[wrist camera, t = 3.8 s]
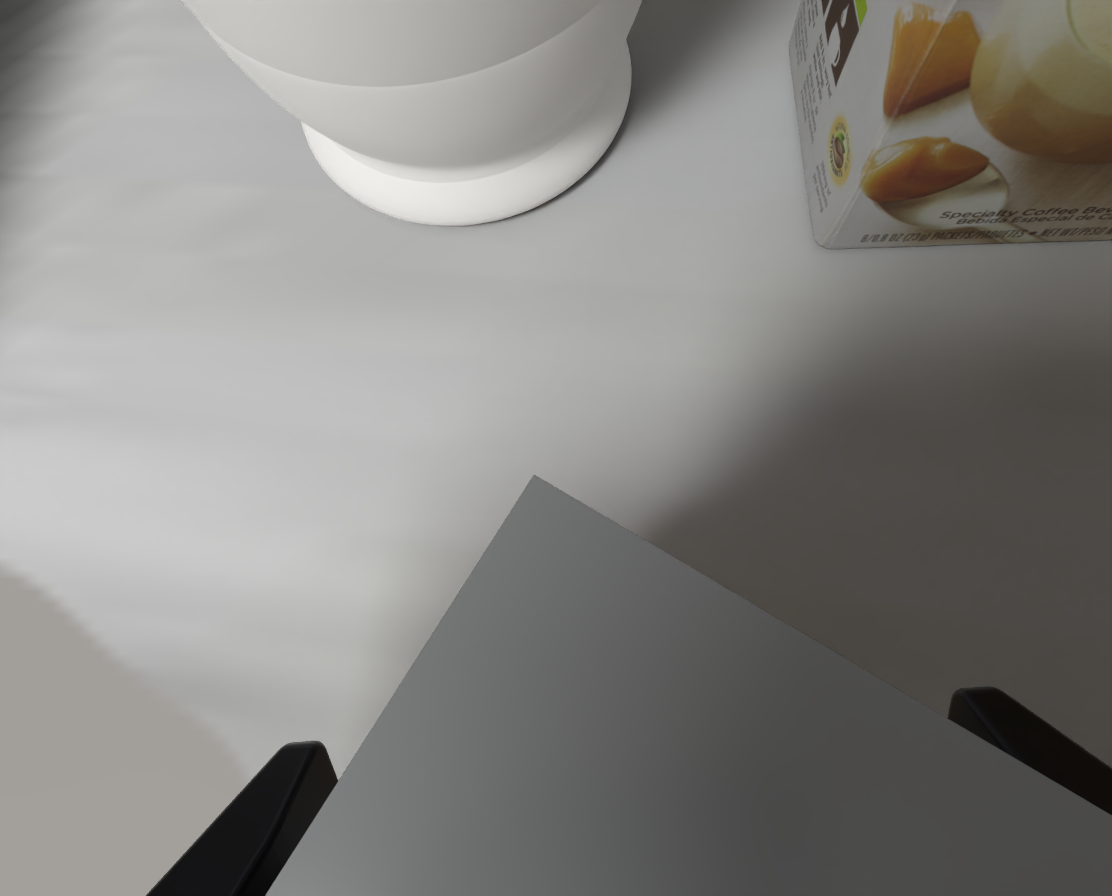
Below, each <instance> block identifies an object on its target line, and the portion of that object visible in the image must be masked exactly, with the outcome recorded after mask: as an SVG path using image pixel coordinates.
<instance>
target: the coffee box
mask: <svg viewBox="0 0 1112 896" xmlns="http://www.w3.org/2000/svg"><path fill="white" fill-rule="evenodd" d="M789 54H790V63H791V71H792V80H793V88H794V96H795V103H796V111H797V119H798V127H799V135H800V143H801V152H802V160H803V167H804V174H805V181H806V188H807V195H808V203H809V209H810V216H811V222H812V228H813V235H814V238H815V241H816V242H817V243H818V244H819V245H820V246H822V247H824V248H827V249H846V248H873V247H899V246H931V245H955V244H993V243H1029V242H1056V241H1091V240H1112V0H802V1H801V4H800V8H799V11H798V14H797V18H796V21H795V25H794V28H793V31H792V35H791V38H790V42H789Z"/></svg>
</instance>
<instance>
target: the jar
mask: <svg viewBox="0 0 1112 896" xmlns="http://www.w3.org/2000/svg"><path fill="white" fill-rule="evenodd" d="M180 1H181V2H182V3H183V4H184V5H185V6H186V7H187V8H188V9H189V10H190V11H191V12H192V13H193V14H194V15H195V16H196V17H197V19H198V20H199V21H200V23H201V24H202V25H203V26H204V28H205V29H206V30H207V31H208V32H209V34H210V35H211V36H212V37H213V38H214V40H215V41H216V42H217V43H218V44H219V46H220V47H221V48H222V49H223V50H224V51H225V52H226V53H227V55H228V56H229V57H230V58H231V59H232V60H233V61H234V62H235V63H236V64H237V65H238V66H239V68H240V69H241V70H242V71H243V72H244V73H245V74H246V75H247V76H248V77H249V78H250V79H251V80H252V81H253V82H254V83H255V84H256V85H258V86H259V87H260V88H261V89H262V90H263V91H264V92H265V93H266V94H267V95H268V96H270V97H271V98H272V99H273V100H274V101H275V102H277V103H278V104H279V105H280V106H282V107H283V108H284V109H285V110H287V111H288V112H289V113H291V114H292V115H293V116H295V117H296V118H298V119H299V120H300V121H301V123H302V127H303V130H304V134H305V137H306V139H307V142H308V144H309V146H310V149H311V151H312V152H313V154H314V156H315V158H316V159H317V161H318V163H319V164H320V165H321V167H322V168H323V170H324V171H325V172H326V173H327V174H328V176H329V177H330V178H331V179H332V180H333V181H334V182H335V183H336V184H337V185H338V186H339V187H340V188H342V189H343V190H344V191H345V192H346V193H348V194H349V195H350V196H352V197H353V198H355V199H356V200H358V201H360V202H361V203H363V204H365V205H366V206H368V207H370V208H372V209H374V210H376V211H379V212H381V213H384V214H386V215H389V216H392V217H395V218H398V219H401V220H405V221H410V222H415V223H421V224H427V225H437V226H464V225H474V224H481V223H487V222H492V221H497V220H501V219H505V218H508V217H511V216H514V215H517V214H520V213H523V212H525V211H528V210H530V209H533V208H535V207H537V206H539V205H541V204H543V203H545V202H547V201H549V200H550V199H552V198H554V197H556V196H557V195H559V194H560V193H562V192H563V191H565V190H566V189H568V188H569V187H570V186H572V185H573V184H574V183H575V182H577V181H578V180H579V179H580V178H581V177H582V176H584V175H585V174H586V173H587V172H588V171H589V170H590V169H591V168H592V167H593V166H594V165H595V163H596V162H597V161H598V160H599V159H600V158H601V156H602V155H603V154H604V153H605V151H606V150H607V148H608V147H609V145H610V144H611V142H612V141H613V139H614V137H615V135H616V133H617V131H618V129H619V127H620V125H621V123H622V121H623V118H624V115H625V112H626V109H627V105H628V101H629V97H630V90H631V76H632V73H631V59H630V53H629V48H628V44H627V41H626V38H627V36H628V34H629V32H630V29H631V27H632V25H633V23H634V20H635V18H636V16H637V13H638V11H639V8H640V5H641V3H642V0H180Z"/></svg>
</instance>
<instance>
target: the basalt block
mask: <svg viewBox="0 0 1112 896" xmlns="http://www.w3.org/2000/svg"><path fill="white" fill-rule="evenodd" d="M265 896H1112V815H1110V814H1108V813H1107V812H1105V811H1103V810H1102V809H1100V808H1098V807H1097V806H1095V805H1093V804H1092V803H1090V802H1088V801H1086V800H1085V799H1083V798H1081V797H1080V796H1078V795H1076V794H1075V793H1073V792H1071V791H1070V790H1068V789H1066V788H1064V787H1063V786H1061V785H1059V784H1058V783H1056V782H1054V781H1053V780H1051V779H1049V778H1047V777H1046V776H1044V775H1042V774H1041V773H1039V772H1037V771H1036V770H1034V769H1032V768H1031V767H1029V766H1027V765H1025V764H1024V763H1022V762H1020V761H1019V760H1017V759H1015V758H1014V757H1012V756H1010V755H1008V754H1007V753H1005V752H1003V751H1002V750H1000V749H998V748H997V747H995V746H993V745H992V744H990V743H988V742H986V741H985V740H983V739H981V738H980V737H978V736H976V735H975V734H973V733H971V732H970V731H968V730H966V729H964V728H963V727H961V726H959V725H958V724H956V723H954V722H953V721H951V720H949V719H947V718H946V717H944V716H942V715H941V714H939V713H937V712H936V711H934V710H932V709H931V708H929V707H927V706H925V705H924V704H922V703H920V702H919V701H917V700H915V699H914V698H912V697H910V696H908V695H907V694H905V693H903V692H902V691H900V690H898V689H897V688H895V687H893V686H892V685H890V684H888V683H886V682H885V681H883V680H881V679H880V678H878V677H876V676H875V675H873V674H871V673H869V672H868V671H866V670H864V669H863V668H861V667H859V666H858V665H856V664H854V663H853V662H851V661H849V660H847V659H846V658H844V657H842V656H841V655H839V654H837V653H836V652H834V651H832V650H831V649H829V648H827V647H825V646H824V645H822V644H820V643H819V642H817V641H815V640H814V639H812V638H810V637H808V636H807V635H805V634H803V633H802V632H800V631H798V630H797V629H795V628H793V627H792V626H790V625H788V624H786V623H785V622H783V621H781V620H780V619H778V618H776V617H775V616H773V615H771V614H769V613H768V612H766V611H764V610H763V609H761V608H759V607H758V606H756V605H754V604H753V603H751V602H749V601H747V600H746V599H744V598H742V597H741V596H739V595H737V594H736V593H734V592H732V591H731V590H729V589H727V588H725V587H724V586H722V585H720V584H719V583H717V582H715V581H714V580H712V579H710V578H708V577H707V576H705V575H703V574H702V573H700V572H698V571H697V570H695V569H693V568H692V567H690V566H688V565H686V564H685V563H683V562H681V561H680V560H678V559H676V558H675V557H673V556H671V555H669V554H668V553H666V552H664V551H663V550H661V549H659V548H658V547H656V546H654V545H653V544H651V543H649V542H647V541H646V540H644V539H642V538H641V537H639V536H637V535H636V534H634V533H632V532H631V531H629V530H627V529H625V528H624V527H622V526H620V525H619V524H617V523H615V522H614V521H612V520H610V519H608V518H607V517H605V516H603V515H602V514H600V513H598V512H597V511H595V510H593V509H592V508H590V507H588V506H586V505H585V504H583V503H581V502H580V501H578V500H576V499H575V498H573V497H571V496H569V495H568V494H566V493H564V492H563V491H561V490H559V489H558V488H556V487H554V486H553V485H551V484H549V483H547V482H546V481H544V480H542V479H541V478H539V477H537V476H536V475H534V476H533V477H532V479H531V480H530V482H529V483H528V485H527V486H526V488H525V490H524V491H523V493H522V494H521V496H520V497H519V499H518V501H517V502H516V504H515V505H514V507H513V508H512V510H511V512H510V513H509V515H508V516H507V518H506V519H505V521H504V523H503V524H502V526H501V527H500V529H499V530H498V532H497V533H496V535H495V537H494V538H493V540H492V541H491V543H490V544H489V546H488V548H487V549H486V551H485V552H484V554H483V555H482V557H481V559H480V560H479V562H478V563H477V565H476V566H475V568H474V569H473V571H472V573H471V574H470V576H469V577H468V579H467V580H466V582H465V584H464V585H463V587H462V588H461V590H460V591H459V593H458V595H457V596H456V598H455V599H454V601H453V602H452V604H451V606H450V607H449V609H448V610H447V612H446V613H445V615H444V616H443V618H442V620H441V621H440V623H439V624H438V626H437V627H436V629H435V631H434V632H433V634H432V635H431V637H430V638H429V640H428V642H427V643H426V645H425V646H424V648H423V649H422V651H421V653H420V654H419V656H418V657H417V659H416V660H415V662H414V663H413V665H412V667H411V668H410V670H409V671H408V673H407V674H406V676H405V678H404V679H403V681H402V682H401V684H400V685H399V687H398V689H397V690H396V692H395V693H394V695H393V696H392V698H391V699H390V701H389V703H388V704H387V706H386V707H385V709H384V710H383V712H382V714H381V715H380V717H379V718H378V720H377V721H376V723H375V725H374V726H373V728H372V729H371V731H370V732H369V734H368V736H367V737H366V739H365V740H364V742H363V743H362V745H361V746H360V748H359V750H358V751H357V753H356V754H355V756H354V757H353V759H352V761H351V762H350V764H349V765H348V767H347V768H346V770H345V772H344V773H343V775H342V776H341V778H340V779H339V781H338V783H337V784H336V786H335V787H334V789H333V790H332V792H331V793H330V795H329V797H328V798H327V800H326V801H325V803H324V804H323V806H322V808H321V809H320V811H319V812H318V814H317V815H316V817H315V819H314V820H313V822H312V823H311V825H310V826H309V828H308V829H307V831H306V833H305V834H304V836H303V837H302V839H301V840H300V842H299V844H298V845H297V847H296V848H295V850H294V851H293V853H292V855H291V856H290V858H289V859H288V861H287V862H286V864H285V866H284V867H283V869H282V870H281V872H280V873H279V875H278V876H277V878H276V880H275V881H274V883H273V884H272V886H271V887H270V889H269V891H268V892H267V894H266V895H265Z"/></svg>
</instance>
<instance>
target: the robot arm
mask: <svg viewBox="0 0 1112 896" xmlns="http://www.w3.org/2000/svg"><path fill="white" fill-rule="evenodd" d="M948 719H949V720H951V721H953V722H954V723H956V724H958V725H959V726H961V727H963V728H964V729H966V730H968V731H970V732H971V733H973V734H975V735H976V736H978V737H980V738H981V739H983V740H985V741H986V742H988V743H990V744H992V745H993V746H995V747H997V748H998V749H1000V750H1002V751H1003V752H1005V753H1007V754H1008V755H1010V756H1012V757H1014V758H1015V759H1017V760H1019V761H1020V762H1022V763H1024V764H1025V765H1027V766H1029V767H1031V768H1032V769H1034V770H1036V771H1037V772H1039V773H1041V774H1042V775H1044V776H1046V777H1047V778H1049V779H1051V780H1053V781H1054V782H1056V783H1058V784H1059V785H1061V786H1063V787H1064V788H1066V789H1068V790H1070V791H1071V792H1073V793H1075V794H1076V795H1078V796H1080V797H1081V798H1083V799H1085V800H1086V801H1088V802H1090V803H1092V804H1093V805H1095V806H1097V807H1098V808H1100V809H1102V810H1103V811H1105V812H1107V813H1108V814H1110V815H1112V768H1111V767H1109V766H1108V765H1106V764H1105V763H1104V762H1102V761H1101V760H1099V759H1098V758H1097V757H1095V756H1094V755H1092V754H1091V753H1089V752H1088V751H1087V750H1085V749H1084V748H1082V747H1081V746H1079V745H1078V744H1077V743H1075V742H1074V741H1072V740H1071V739H1070V738H1068V737H1067V736H1065V735H1064V734H1062V733H1061V732H1060V731H1058V730H1057V729H1055V728H1054V727H1053V726H1051V725H1050V724H1048V723H1047V722H1045V721H1044V720H1043V719H1041V718H1040V717H1038V716H1037V715H1036V714H1034V713H1033V712H1031V711H1030V710H1028V709H1027V708H1026V707H1024V706H1023V705H1021V704H1020V703H1019V702H1017V701H1016V700H1014V699H1013V698H1011V697H1010V696H1009V695H1007V694H1006V693H1004V692H1003V691H1001V690H999V689H997V688H995V687H990V686H985V687H973V688H961V689H958V690H956V691H955V692H954V694H953V696H952V699H951V703H950V709H949V714H948ZM337 783H338V779H337V776H336V774H335V771H334V768H333V766H332V763H331V761H330V758H329V755H328V753H327V750H326V748H325V746H324V745H323V744H322V743H321V742H320V741H305V742H293V743H288V744H286V745H285V746H283V747H282V748H281V749H280V750H278V752H277V753H276V754H275V755H274V756H273V757H272V758H271V759H270V760H269V761H268V763H267V764H266V765H265V766H264V767H263V768H262V769H261V770H260V771H259V772H258V773H257V775H256V776H255V777H254V778H253V779H252V780H251V781H250V782H249V783H248V784H247V786H246V787H245V788H244V789H243V790H242V791H241V792H240V793H239V794H238V795H237V796H236V798H235V799H234V800H233V801H232V802H231V803H230V804H229V805H228V806H227V807H226V808H225V810H224V811H223V812H222V813H221V814H220V815H219V816H218V817H217V818H216V819H215V821H214V822H213V823H212V824H211V825H210V826H209V827H208V828H207V829H206V830H205V832H204V833H203V834H202V835H201V836H200V837H199V838H198V839H197V840H196V841H195V842H194V844H193V845H192V846H191V847H190V848H189V849H188V850H187V851H186V852H185V853H184V854H183V856H182V857H181V858H180V859H179V860H178V861H177V862H176V863H175V864H174V865H173V867H172V868H171V869H170V870H169V871H168V872H167V873H166V874H165V875H164V876H163V878H162V879H161V880H160V881H159V882H158V883H157V884H156V885H155V886H154V887H153V888H152V889H151V891H150V892H149V893H148V894H147V895H146V896H265V895H266V894H267V892H268V891H269V889H270V887H271V886H272V884H273V883H274V881H275V880H276V878H277V876H278V875H279V873H280V872H281V870H282V869H283V867H284V866H285V864H286V862H287V861H288V859H289V858H290V856H291V855H292V853H293V851H294V850H295V848H296V847H297V845H298V844H299V842H300V840H301V839H302V837H303V836H304V834H305V833H306V831H307V829H308V828H309V826H310V825H311V823H312V822H313V820H314V819H315V817H316V815H317V814H318V812H319V811H320V809H321V808H322V806H323V804H324V803H325V801H326V800H327V798H328V797H329V795H330V793H331V792H332V790H333V789H334V787H335V786H336V784H337Z"/></svg>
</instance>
